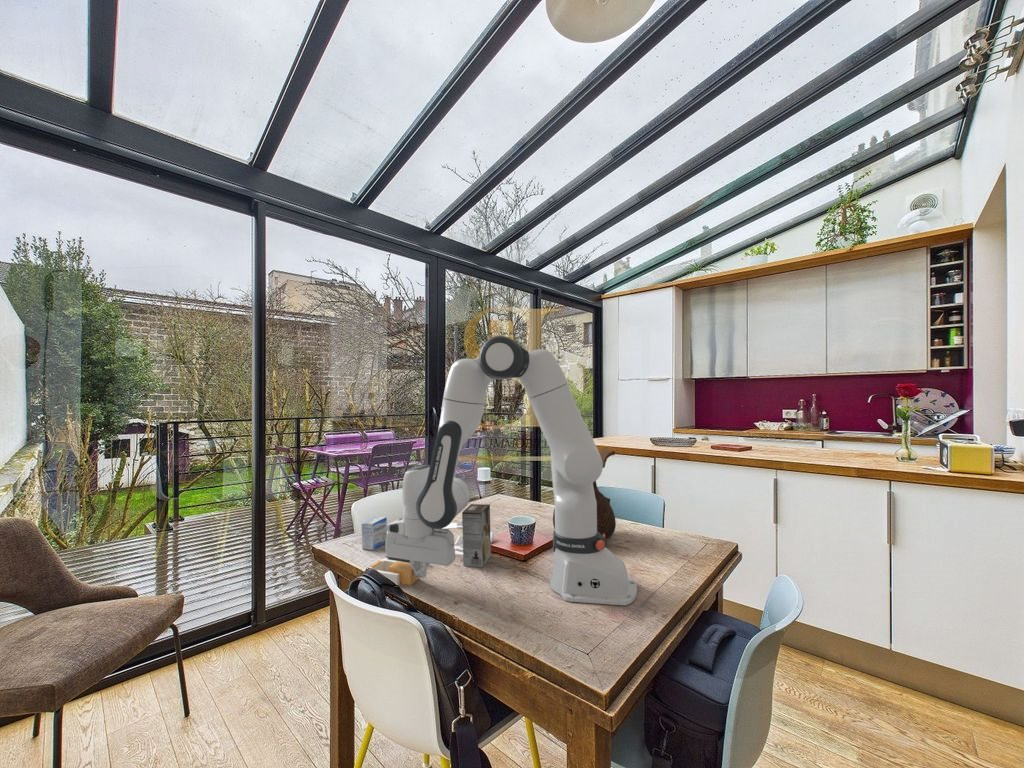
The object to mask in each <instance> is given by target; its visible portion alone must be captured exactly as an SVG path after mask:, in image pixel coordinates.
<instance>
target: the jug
mask: <svg viewBox="0 0 1024 768" xmlns="http://www.w3.org/2000/svg"><path fill="white" fill-rule="evenodd" d="M598 451H599V453H600V456H601V458H602V462H603V468H605V467H606V463H607V461H608V458H610V457H611V456H615V455H616V451H615V450H614V449H610V448H605V447H603V448H601V449H599V450H598ZM593 487H594V493H595V498H596V502H597V531H598V532H599V533H600V534H601V535H603V534H605V542H606V541H608V540H610V538H612V536H613V535H614V533H615V531H616V528H617V527H616V526H617V523H616V522H617V521H616V514H615V511H614V509H613V508H612V506H611V498H610V497H609V498H608V497H606V496H605V495H604V494H603V493H602V492H600V490H599V487H598V484H597V480H596V481H595V482H593ZM552 524H553V525H552V526H553V529H554V530H555V507H554V508H553V514H552Z"/></svg>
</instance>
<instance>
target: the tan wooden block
mask: <svg viewBox="0 0 1024 768" xmlns="http://www.w3.org/2000/svg"><path fill="white" fill-rule="evenodd" d="M418 566H419V567H420V565H419V564H418ZM389 572H392V573H398V574H399V584H403V585H407V586H412V585H413V584H414V583H416V582H417V581H418V580H420V577H415V576H414V570H413V569H412V567H411V565H410V563H406V562H399V561H397V562H395V563H394V564H392V565H391V566H389Z"/></svg>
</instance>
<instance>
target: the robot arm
mask: <svg viewBox="0 0 1024 768" xmlns="http://www.w3.org/2000/svg"><path fill="white" fill-rule="evenodd" d="M480 347H481V348H480V350H479V354H478V357H476V358H460V359H458V360H455V361H454V362H453V363H452V365H451V367H450V369H449V372H448V375H447V378H446V381H445V384H444V386H445V387H444V391H443V396H442V402H441V403H442V404H441V411H440V418H439V423H438V428H437V432H436V433H437V434H436V438H435V442H434V445H433V450H432V455H431V461H430V464H421V465H418V466H414V467H411V468H408V469H407V470H406V471H405V472H404V476H403V478H402V479H403V480H402V481H403V482H402V491H401V492H402V503H403V511H402V517H401V518H398V519H396V520H393V521H392V522H389V523H387V535H386V541H385V544H384V546H385V547H384V549H385V554H386V556H388V557H393V558H399V559H405V560H410V565H411V567H412V569H413V570H414V576H415V577H419V579H420V578H421V579H425V578H426V577H427V570H428V568H429V567H430V564H433V565H436V566H437V565H438V566H445V567H448V566H449V565H451V564H452V563H453V562H454V561H455V559H456V554H455V551H456V550H455V548H454V546H455V535H454V533H453V532H452V531H451V530H450V529H442V528H444V527H446V526H448V525H449V524H450V523H453V521H454V519H455V518H456V517H457V516H458V515H459V514H460V513H461V512H463V511H464V510H465V509H466V508H467V507H468V506H469V503H470V501H471V489H470V487H469V484H468V483H467V482H466V481H465V480H463V479H462V478H460V477H455V476H456V471H457V465H458V460H459V456H460V453H461V451H462V448H463V447H464V445H465V444H466V443H467V441H468V440H469V438H471V436H472V435H474V433H475V432H476V431H478V428H479V426H480V424H481V422H482V418H483V415H484V410H485V402H486V396H487V395H486V394H487V391H488V387H489V385H490V383H491V382H492V381H495V380H508V379H514V378H515V379H518V380H519V381H520V383H521V384H522V385H523V388H524V389H525V392H526V395H527V397H528V400H529V403H530V406H531V407H532V410H533V413H534V415H535V418H536V420H537V423H538V425H539V428H540V430H541V431H542V434H543V437H544V438H545V441H546V444H547V446H548V447H549V449H550V465H551V467H550V468H551V479H552V490H553V501H554V508H555V529H554V530H553V535H552V548H553V552H554V553H553V554H554V555H553V556H554V557H553V565H552V566H553V567H552V570H551V571H552V572H551V576H550V580H549V587H550V588H551V589H552V591H554V592H555V593H557V594H559V595H560V597H561V598H562V599H563V600H564V601H566V602H568V603H569V602H573V603H583V604H584V603H586V604H597V605H598V604H599V605H600V604H601V605H612V606H628V605H630V604H632V603H633V602H634V601H635V600H636V599H637V596H638V595H637V594H638V585H637V582H636V580H635V579H633V578H631V577H629V574H628V569H627V567H626V565H625V562H624V561H623V560H622V559H621V558H619V557H618V556H617V555H615V554H614V553H613V552H612V551H611V550H610V549H608V548H607V547H606V541H605V534H603V535H601V534H600V533H599V532H598V531H597V502H596V498H595V493H594V487H593V482H595V481H596V482H597V480H598V479H599V478H600V477H601V475H602V472H603V462H602V458H601V456H600V453H599V451H600V450H599V449H598V446H597V445H596V443H595V441H594V438H593V436H592V434H591V433H590V430H589V427H588V426H587V424H586V421H584V418H583V417H582V415H581V413H580V411H579V408H578V406H577V403H576V401H575V398H574V395H573V393H572V390H571V387H570V385H569V382H568V380H567V378H566V375H565V373H564V371H563V369H562V368H561V366H560V363H559V362H558V361H557V359H556V357H555V356H554V354H553V352H551V351H550V350H548V349H544V348H543V349H542V348H539V349H534V350H531V351H528V350H527V349H525V347H523V346H522V345H520V344H519V343H518V342H517V341H515V340H514V339H513V338H511V337H508V336H505V335H496V336H492V337H490V338H489V339H487V340H485V342H484V343H483V344H482V346H480ZM417 562H421V565H419V566H418V563H417ZM420 566H422V568H421V567H420Z"/></svg>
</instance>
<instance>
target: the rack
mask: <svg viewBox="0 0 1024 768" xmlns="http://www.w3.org/2000/svg"><path fill="white" fill-rule="evenodd" d="M395 562H397V561H394V560H389V557H388V556H387V555H386V556H385V557H384V558H383V559H380V560H378V561H376V562H374V563H373V564H370V565H369V567H367V568H366V569H368V568H373V569H376V570H377V571H378V572H380V573H381V574H383V575H384V576H385V577H387V578H388V579H390V580H391V581H393V582H394V583H395V584H396V585H399V586H400V583H399V574H398V573H392V572H389V566H391V565H392V564H394V563H395ZM399 562H401V561H399ZM406 563H407V562H406ZM417 563H418V564H419V566H422V565H421V562H417ZM366 569H364V572H365V571H366Z"/></svg>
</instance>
